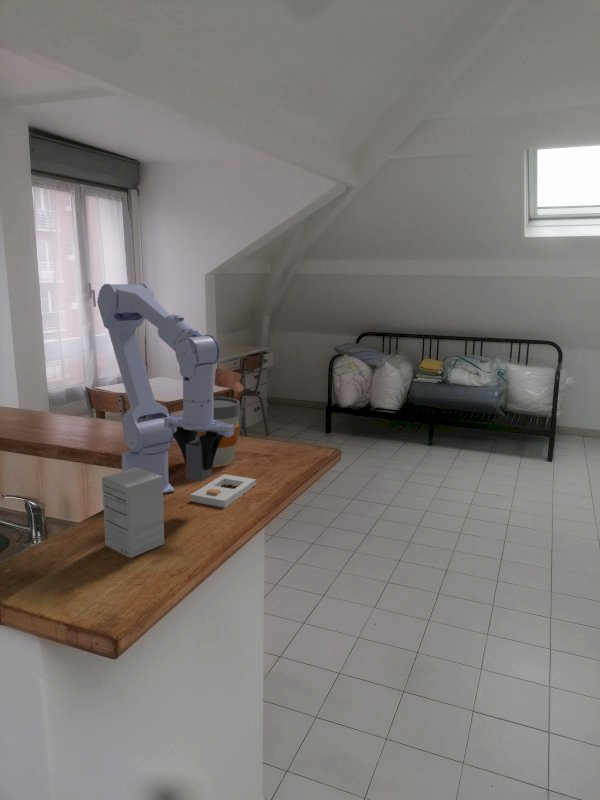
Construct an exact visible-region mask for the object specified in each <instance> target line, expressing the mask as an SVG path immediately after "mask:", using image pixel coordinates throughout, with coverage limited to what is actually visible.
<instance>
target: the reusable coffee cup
mask: <svg viewBox="0 0 600 800" xmlns="http://www.w3.org/2000/svg"><path fill="white" fill-rule="evenodd" d="M240 404H241V403H240V401H239V400H238V399H236V398H232V397H225V396H213V410H214V420H216V421H219V422H223V423H226V424H231V425H234V435H233V436H230V437H225V435H224V437H223V438H222V440H221V442H220V444H219V446H218V448H217V451H216V454H215V457H214V461H213V465H222V464H226V463H229V462H231V461H232V460H233V461H234V455H235V449H236V444H237V443H238V440H239V431H240V422H239V419H240V418H239V417H240V415H241V405H240ZM197 435H206V433H205V432H198V431H197Z"/></svg>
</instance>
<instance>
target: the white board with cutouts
mask: <svg viewBox="0 0 600 800" xmlns="http://www.w3.org/2000/svg"><path fill="white" fill-rule="evenodd" d="M224 484H228V485H234V486H238V487H235V488H231V487H230V488H228V487H224V486H225V485H224ZM222 485H223V486H222ZM228 485H227V486H228ZM255 485H256V486H257V479H256V478H250V477H243V476H239V475H237V476H236V475H232V474H225V473H224V474H222V475H220V476H218V477H217V478H215V479H213V480H212V481H210V482H209V483H207V484H205V485H204V486H202V487H201V488H198V489H197V490H195V491H194V492H191V493H190V494H189V495H190V502H192V503H198V504H203V505H208V506H214V507H218V508H223V509H225V508H227V507H228V506H229V505H230V506H231V504H232V503H234V502H235V501H237V500H238V499H240V498H241V497H243V496H244V495H245V494H247V493H248V492H249V491H251V490H252V489H253V488H252V487H253V486H255ZM221 486H222V487H221ZM234 486H233V487H234ZM256 486H255V487H256ZM251 488H252V489H251ZM250 489H251V490H250ZM248 490H249V491H248ZM247 491H248V492H247ZM246 492H247V493H246ZM244 493H245V494H244ZM243 494H244V495H243ZM239 497H240V498H239ZM236 499H237V500H236Z"/></svg>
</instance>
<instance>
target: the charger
mask: <svg viewBox="0 0 600 800" xmlns="http://www.w3.org/2000/svg"><path fill="white" fill-rule="evenodd" d="M200 436H202V435H195V440H193V441H191V442H189V443H187V444H186V465H185V476H186V477H185V478H186V479H187V480H193V481H198V482H203V481H205V480H207V479H208V478H210V477H212V468H211V469H209V470H204V467H203V450H202V445H201V442H200Z"/></svg>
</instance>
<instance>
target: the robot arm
mask: <svg viewBox="0 0 600 800" xmlns="http://www.w3.org/2000/svg"><path fill="white" fill-rule="evenodd" d="M96 303H97V306H98V310H99V314H100V316H101V321H102V324H103V326H104V328H106V329H107V331H108V334H109V338H110V342H111V345H112V348H113V351H114V355H115V359H116V362H117V363H116V364H117V365H118V369H119V372H120V376H121V379H122V382H123V387H124V390H125V394H126V397H127V399H128V403H129V407H130V408H129V409H128V410H127V411H126V412H125V414H124V415H123V416H122V418H121V424H122V428H123V429H122V430H123V431H122V434H123V435H122V436H123V441H124V444H125V445H126V447H127V448H128V449H129V451H124V452H122V454H121V472H122V471H126V470H129V469H132V468H135V467H137V468H140V469H143V470H146V471H149V472H152V473H155V474H157V475H160V476H162V483H163V494H166V493H172V492H175V489H174V487H173V486H172V484H171V483H170V482H169V449H170V448H171V447H172V446H171V445H172V443H173V442H175V441H176V442H177V445H178V447H179V448H180V451H181V455H182V457H183V460H184V464H185V465H184V466H186V444H187V443H189V442H191V441H193V440H195V435H197V431H198V432H205V433H206V435H202V436H200V442H201V445H202V450H203V467H204V470H209V469H211V470H212V468H213V467H212V466H213V461H214V457H215V454H216V451H217V448H218V446H219V444H220V442H221V440H222V438H223V437H224V435H225V437H230V436H233V435H234V425H231V424H226V423H223V422H219V421H216V420H214V410H213V397H214V365H216V364H217V363H218V361H219V360H220V356H221V347H220V345H219V342H218V341H217V339H216V338H215V336H214V335H213V334H210V333H209V334H203V333H200V332H199V331H198V329H196V328H195V327H194V326H192V325H191V324H189V322H188V321H186V320H185V316H183V315H182V314H173V313H172V314H170V313H169V312H168V310H166V309H165V308H164V307H163V306H162V304H160V303H159V301H158V300H157V299H155V295H154V290H153V289H152V288H150V287H149V286H148V285H147V284H146V283H142V282H141V283H138V284H137V283H135V284H134V283H133V284H131V283H129V284H128V283H127V284H126V283H124V284H122V283H121V284H118V283H116V284H111V283H104V284H103V285H102V286H101V287H100V289H99V291H98V296H97V301H96ZM145 320H147V321H148V322H149V323H151V324H152V325H153V326H155V327H156V329H157V335H158V337H159V338H160V339H161V340H162V341H163V342H164V343H165V344H166V345H167V346H168V347H169V348H171V349H172V350H173V351H174V352H175V358H176V360H177V363H178V365H179V373H180V376H181V377H182V401H183V402H182V404H183V406H182V407H183V408H182V409H183V411H182V413H183V416H172V415H170V413H169V410H168V407H166V406H164V405H163V404H161V403H159V402H158V401H156V399H155V396H154V394H153V393H154V392H153V390H152V385H151V382H150V378H149V375H148V372H147V369H146V366H145V362H144V359H143V358H144V357H143V356H142V353H141V348H140V344H139V341H138V338H137V335H136V330H137V328H138V327H140V326H142V325H143V323H144V321H145Z"/></svg>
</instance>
